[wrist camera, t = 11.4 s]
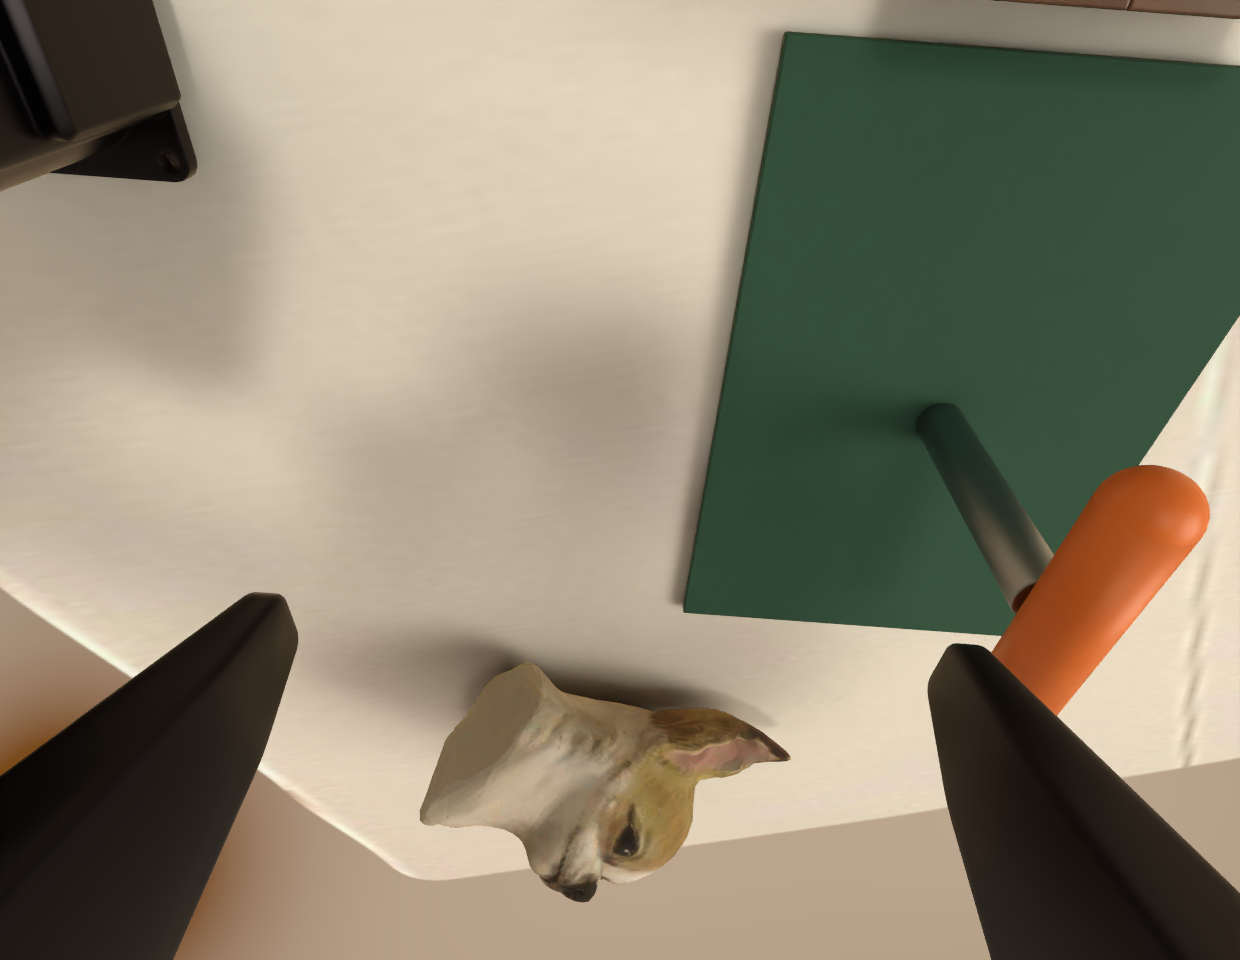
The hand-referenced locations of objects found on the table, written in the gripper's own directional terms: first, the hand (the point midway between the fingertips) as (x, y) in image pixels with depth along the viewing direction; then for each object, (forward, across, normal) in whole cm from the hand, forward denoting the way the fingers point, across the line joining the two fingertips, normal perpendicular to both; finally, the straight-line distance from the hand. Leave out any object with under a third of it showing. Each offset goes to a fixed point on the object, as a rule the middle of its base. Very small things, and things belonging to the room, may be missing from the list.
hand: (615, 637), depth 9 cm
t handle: (+13, -10, +4) cm, 17 cm away
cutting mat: (+13, -10, +4) cm, 17 cm away
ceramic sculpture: (+13, 0, +22) cm, 26 cm away
